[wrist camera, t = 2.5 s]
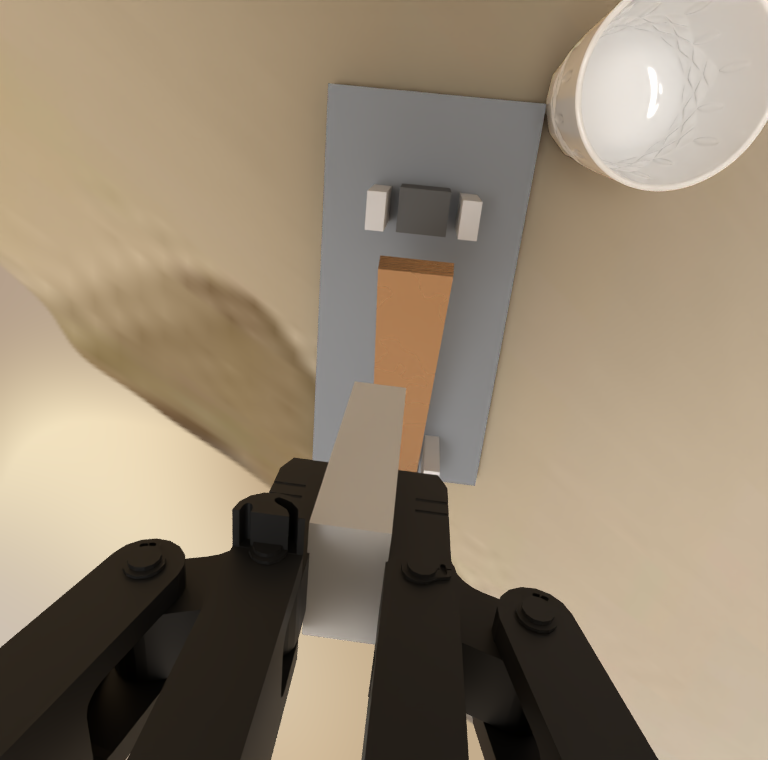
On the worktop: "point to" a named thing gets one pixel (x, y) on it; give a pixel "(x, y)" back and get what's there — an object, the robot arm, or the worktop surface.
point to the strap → (410, 339)
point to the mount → (422, 247)
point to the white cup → (663, 91)
